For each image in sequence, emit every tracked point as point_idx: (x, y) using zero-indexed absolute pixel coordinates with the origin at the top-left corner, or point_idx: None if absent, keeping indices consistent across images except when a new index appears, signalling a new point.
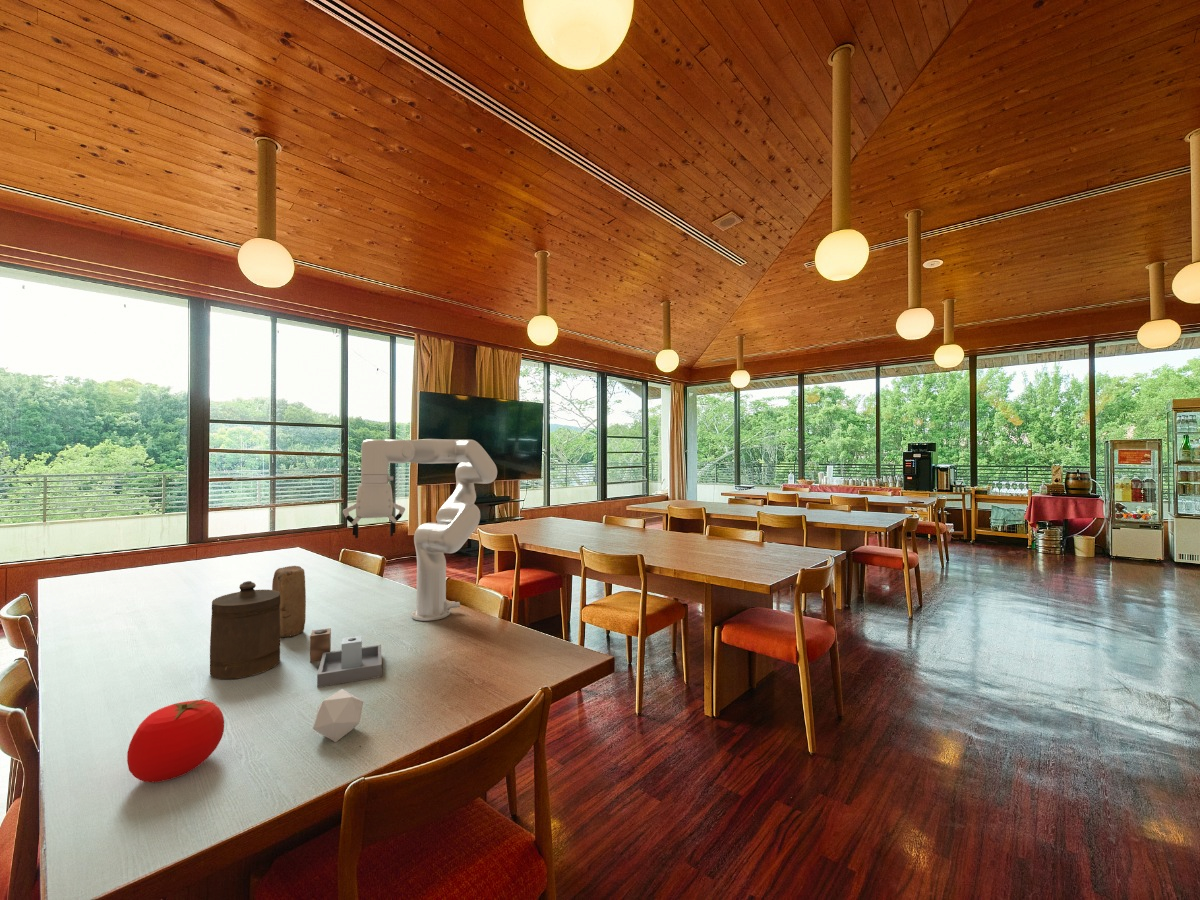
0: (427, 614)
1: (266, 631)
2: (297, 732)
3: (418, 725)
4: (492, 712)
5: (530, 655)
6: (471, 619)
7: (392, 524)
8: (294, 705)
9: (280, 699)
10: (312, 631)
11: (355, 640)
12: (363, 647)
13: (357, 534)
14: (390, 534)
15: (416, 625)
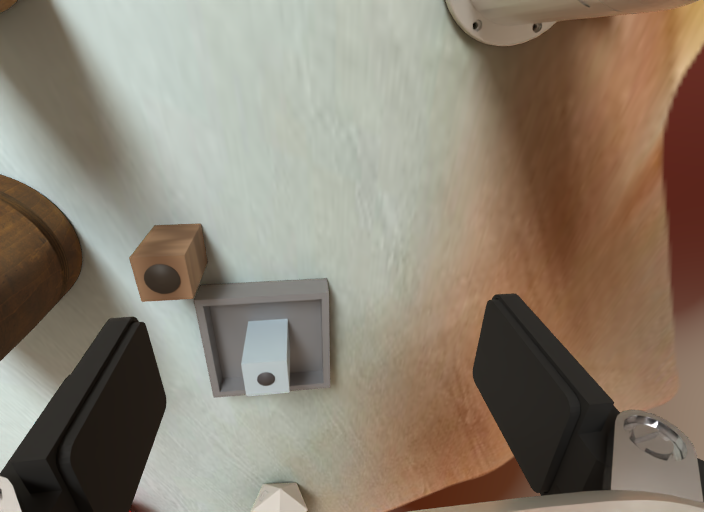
0: (494, 20)
1: (12, 348)
2: (226, 478)
3: (370, 489)
4: (457, 482)
5: (588, 359)
6: (606, 86)
7: (553, 488)
8: (198, 422)
9: (166, 402)
10: (133, 267)
11: (275, 385)
12: (287, 297)
13: (151, 433)
14: (479, 387)
15: (438, 72)
